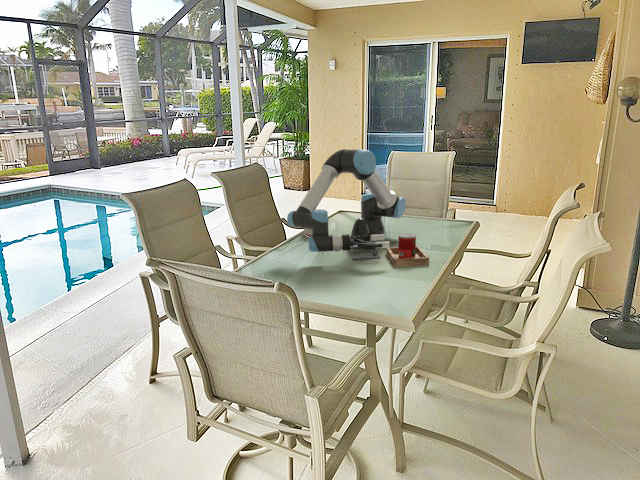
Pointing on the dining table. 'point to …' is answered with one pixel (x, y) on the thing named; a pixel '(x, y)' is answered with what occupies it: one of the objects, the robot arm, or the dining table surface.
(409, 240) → the canned food
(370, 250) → the frame
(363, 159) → the robot arm
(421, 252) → the tray
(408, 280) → the dining table surface
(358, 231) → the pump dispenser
